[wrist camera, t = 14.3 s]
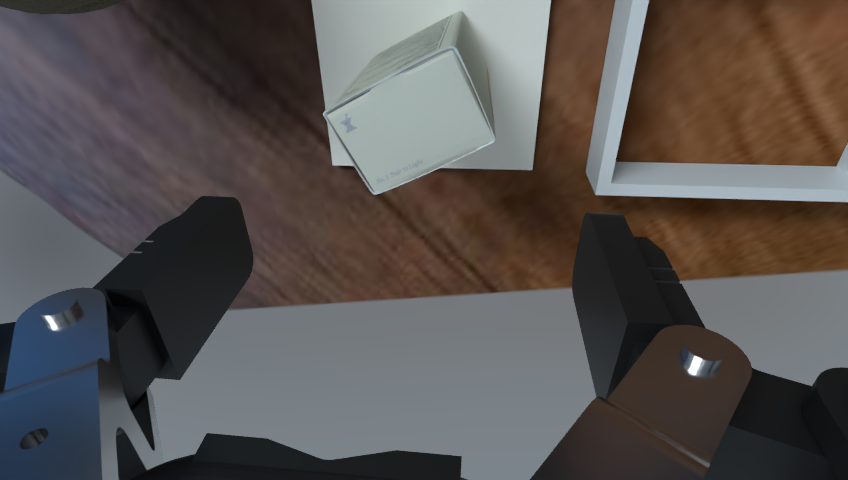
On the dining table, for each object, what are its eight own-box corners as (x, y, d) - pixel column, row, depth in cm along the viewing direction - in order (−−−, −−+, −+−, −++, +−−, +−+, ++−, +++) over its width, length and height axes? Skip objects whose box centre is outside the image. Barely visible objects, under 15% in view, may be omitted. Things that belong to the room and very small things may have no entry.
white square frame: (629, -82, 26) (648, -84, 23) (975, -91, 24) (1043, -93, 21) (585, 171, 33) (595, 194, 31) (844, 178, 32) (880, 203, 29)
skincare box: (405, 116, 32) (370, 202, 22) (372, 52, 30) (315, 114, 20) (494, 73, 30) (500, 146, 20) (464, 2, 28) (454, 42, 18)
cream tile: (305, -68, 27) (302, -68, 27) (557, -74, 26) (559, -74, 26) (334, 162, 35) (332, 165, 34) (531, 166, 34) (532, 170, 33)
